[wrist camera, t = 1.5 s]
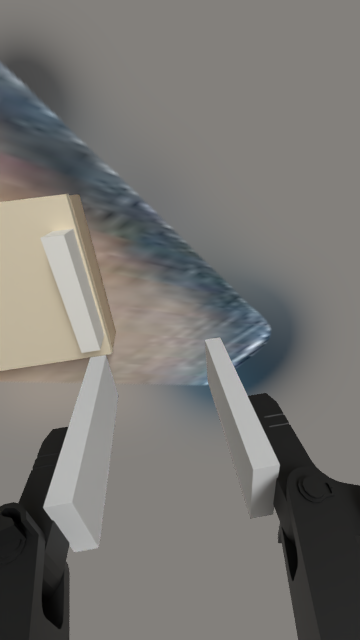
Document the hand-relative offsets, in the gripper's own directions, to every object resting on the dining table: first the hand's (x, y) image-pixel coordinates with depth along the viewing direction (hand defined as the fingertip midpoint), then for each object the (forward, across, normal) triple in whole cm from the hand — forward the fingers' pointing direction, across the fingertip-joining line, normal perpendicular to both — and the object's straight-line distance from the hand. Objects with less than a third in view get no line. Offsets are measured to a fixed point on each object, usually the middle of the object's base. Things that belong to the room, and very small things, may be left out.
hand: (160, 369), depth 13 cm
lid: (+15, -14, 0) cm, 20 cm away
